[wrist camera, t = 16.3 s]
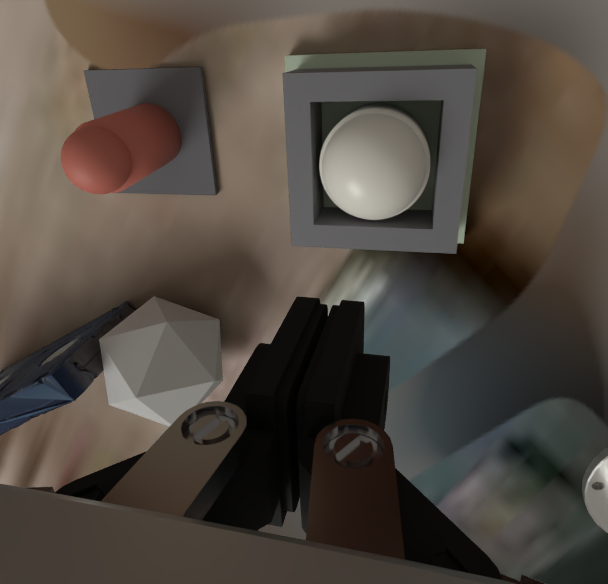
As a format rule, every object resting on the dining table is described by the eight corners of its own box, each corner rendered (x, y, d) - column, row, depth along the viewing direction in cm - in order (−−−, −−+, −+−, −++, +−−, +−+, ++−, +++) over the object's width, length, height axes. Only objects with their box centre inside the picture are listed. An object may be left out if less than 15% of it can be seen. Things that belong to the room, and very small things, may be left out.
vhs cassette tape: (17, 390, 49) (-71, 468, 40) (-4, 367, 48) (-99, 442, 39) (152, 327, 41) (80, 406, 33) (130, 298, 40) (51, 371, 32)
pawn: (178, 105, 32) (107, 133, 24) (183, 167, 34) (119, 210, 26) (120, 100, 32) (34, 126, 25) (128, 162, 34) (51, 202, 27)
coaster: (202, 66, 31) (200, 67, 30) (217, 193, 34) (215, 195, 34) (87, 70, 32) (83, 70, 32) (113, 190, 36) (110, 192, 36)
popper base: (484, 48, 27) (494, 51, 23) (462, 237, 32) (467, 265, 28) (288, 54, 29) (268, 59, 25) (296, 230, 34) (281, 256, 31)
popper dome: (434, 101, 27) (436, 117, 23) (425, 206, 30) (426, 240, 25) (326, 102, 29) (306, 118, 24) (328, 203, 31) (310, 235, 27)
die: (183, 272, 41) (80, 348, 39) (185, 278, 32) (54, 375, 31) (245, 350, 43) (149, 426, 41) (263, 376, 34) (143, 472, 33)
